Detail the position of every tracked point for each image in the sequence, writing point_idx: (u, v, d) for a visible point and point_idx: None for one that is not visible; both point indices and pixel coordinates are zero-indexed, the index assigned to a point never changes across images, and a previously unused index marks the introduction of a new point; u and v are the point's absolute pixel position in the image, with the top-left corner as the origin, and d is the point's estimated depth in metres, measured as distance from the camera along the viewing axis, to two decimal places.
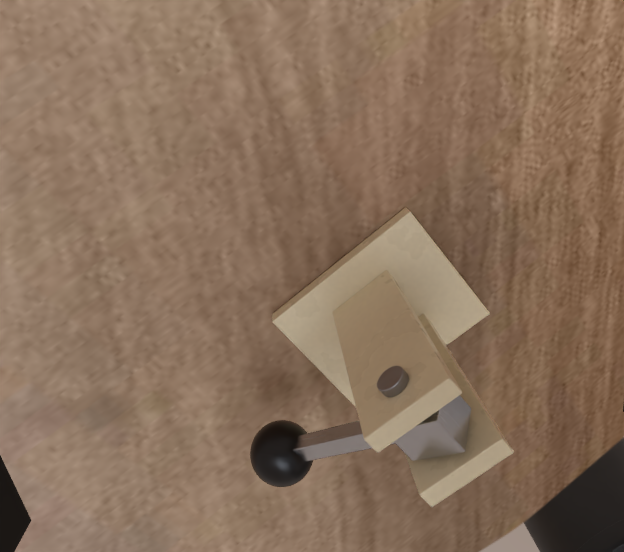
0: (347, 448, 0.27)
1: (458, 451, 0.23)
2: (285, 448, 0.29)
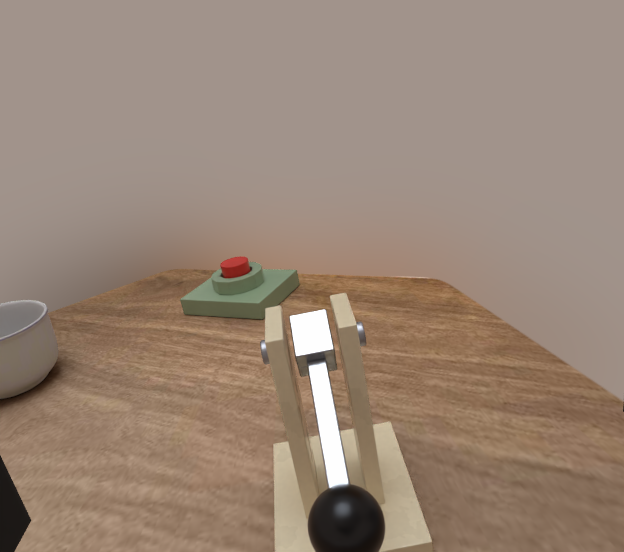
0: (329, 417, 0.27)
1: (324, 312, 0.31)
2: (322, 493, 0.25)
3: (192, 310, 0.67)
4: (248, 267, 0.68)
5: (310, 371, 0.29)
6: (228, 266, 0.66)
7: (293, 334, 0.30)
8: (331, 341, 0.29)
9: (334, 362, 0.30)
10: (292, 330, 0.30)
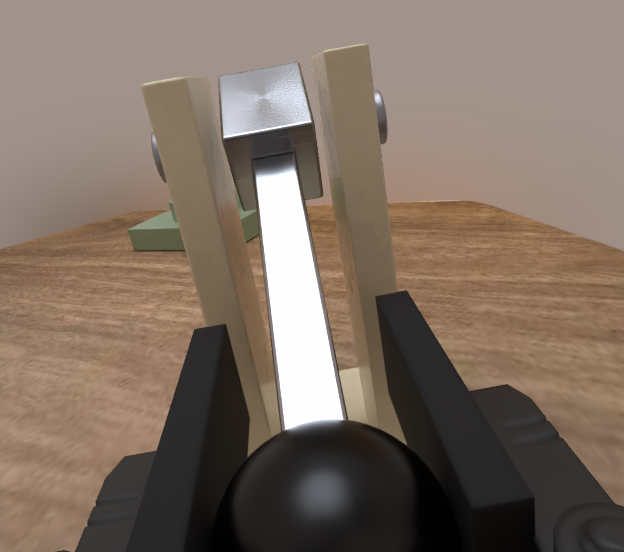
0: (297, 262, 0.11)
1: (294, 67, 0.14)
2: None
3: (143, 243, 0.51)
4: None
5: (257, 175, 0.12)
6: None
7: (223, 103, 0.13)
8: (308, 109, 0.13)
9: (316, 170, 0.13)
10: (221, 97, 0.13)
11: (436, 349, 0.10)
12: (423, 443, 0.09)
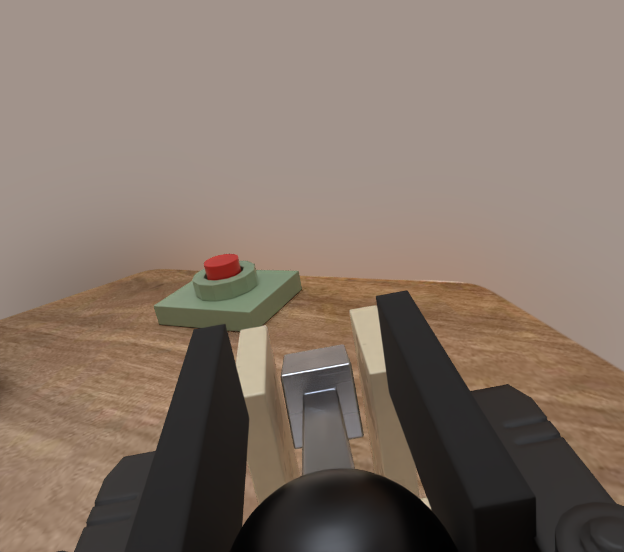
0: (330, 433, 0.13)
1: (340, 346, 0.19)
2: None
3: (168, 319, 0.54)
4: (238, 267, 0.55)
5: (306, 400, 0.16)
6: (213, 265, 0.53)
7: (285, 363, 0.18)
8: (347, 359, 0.17)
9: (355, 407, 0.16)
10: (284, 361, 0.18)
11: (437, 349, 0.10)
12: (424, 443, 0.09)
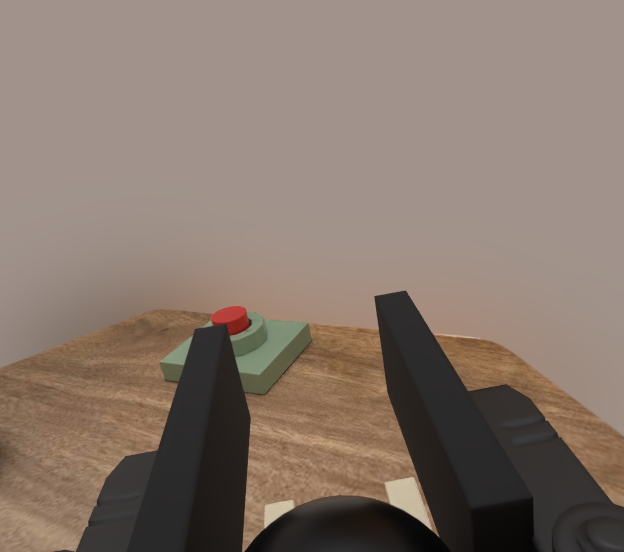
0: None
1: None
2: None
3: (174, 375, 0.53)
4: (247, 321, 0.53)
5: None
6: (221, 321, 0.52)
7: None
8: None
9: None
10: None
11: (435, 349, 0.10)
12: (422, 443, 0.09)
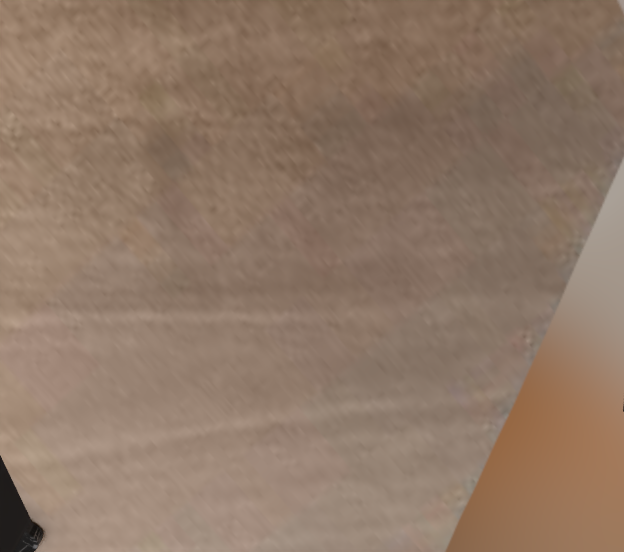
0: None
1: None
2: None
3: None
4: None
5: None
6: None
7: None
8: None
9: None
10: None
11: None
12: None
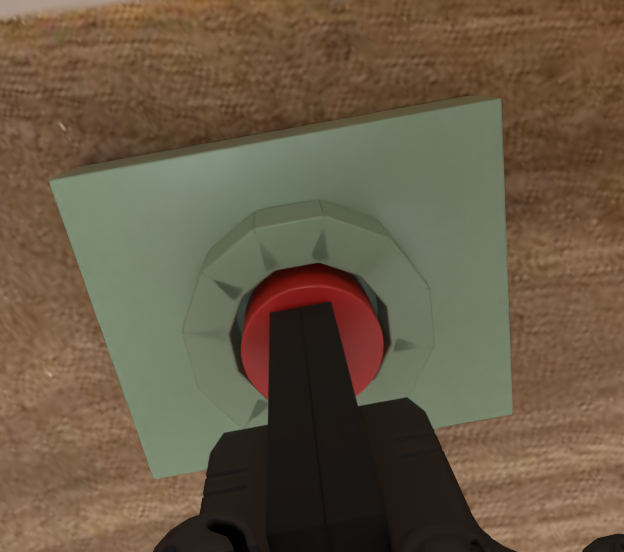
0: None
1: None
2: None
3: None
4: None
5: None
6: None
7: None
8: None
9: None
10: None
11: (340, 362, 0.10)
12: None
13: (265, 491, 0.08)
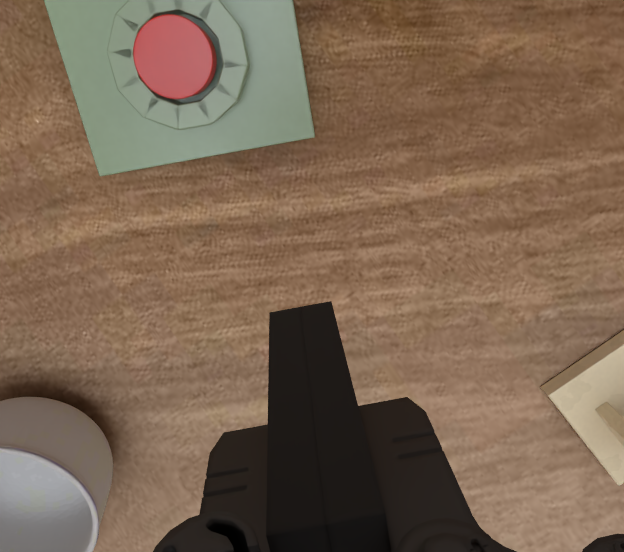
0: None
1: None
2: None
3: None
4: (210, 42, 0.25)
5: None
6: (186, 93, 0.25)
7: None
8: None
9: None
10: None
11: (340, 362, 0.10)
12: None
13: (265, 491, 0.08)
